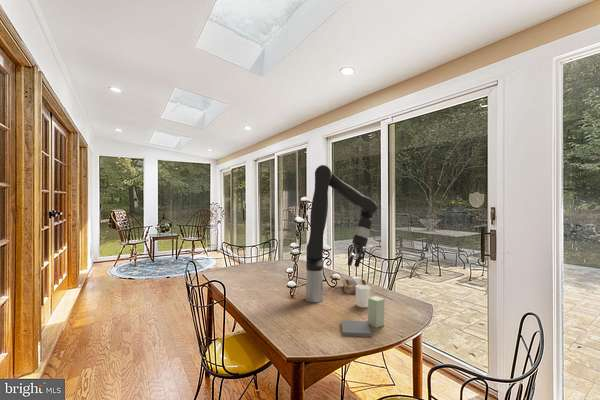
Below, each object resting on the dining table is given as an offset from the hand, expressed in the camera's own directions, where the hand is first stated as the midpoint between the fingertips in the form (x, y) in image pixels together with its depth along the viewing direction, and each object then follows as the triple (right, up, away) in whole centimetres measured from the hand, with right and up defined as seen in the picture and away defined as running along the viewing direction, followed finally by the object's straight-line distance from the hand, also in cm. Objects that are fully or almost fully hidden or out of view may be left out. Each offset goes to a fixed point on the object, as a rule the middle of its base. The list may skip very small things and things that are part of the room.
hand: (352, 266), depth 159 cm
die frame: (+7, -21, +29) cm, 37 cm away
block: (+7, -22, -20) cm, 31 cm away
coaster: (-3, -22, -26) cm, 34 cm away
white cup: (+6, -22, +3) cm, 23 cm away
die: (+7, -21, +29) cm, 37 cm away
